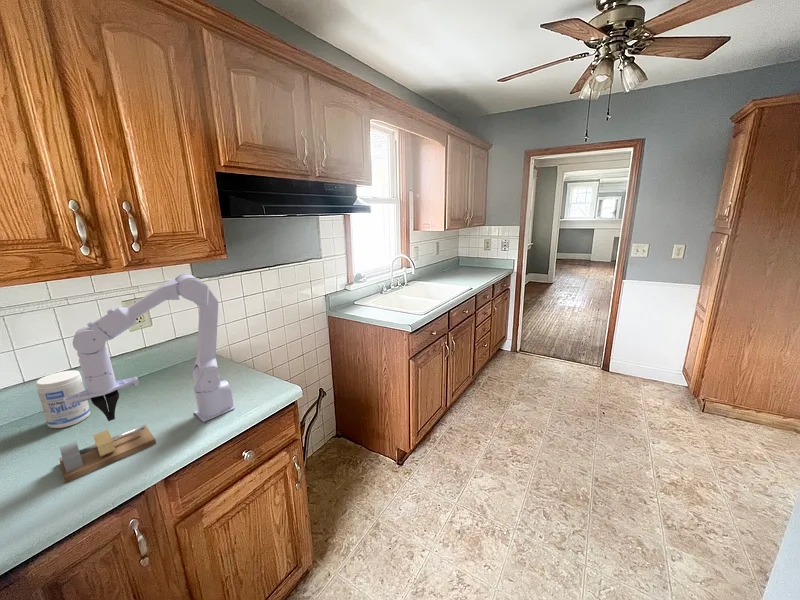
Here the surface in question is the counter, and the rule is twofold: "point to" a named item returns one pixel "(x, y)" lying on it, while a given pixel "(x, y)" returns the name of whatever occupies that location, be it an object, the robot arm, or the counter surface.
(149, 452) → the counter surface
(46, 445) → the counter surface
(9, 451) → the counter surface
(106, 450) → the nut
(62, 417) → the supplement tub
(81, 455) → the base
